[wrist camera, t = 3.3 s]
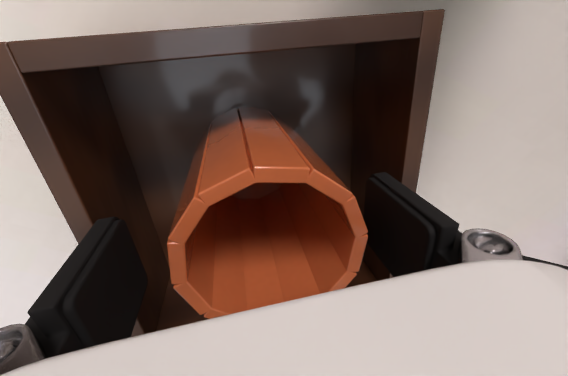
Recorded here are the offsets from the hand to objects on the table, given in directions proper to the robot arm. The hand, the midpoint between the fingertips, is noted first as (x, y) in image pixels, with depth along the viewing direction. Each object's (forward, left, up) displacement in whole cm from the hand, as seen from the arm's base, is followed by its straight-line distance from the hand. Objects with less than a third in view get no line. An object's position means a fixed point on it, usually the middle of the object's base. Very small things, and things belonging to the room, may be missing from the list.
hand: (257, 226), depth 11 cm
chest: (0, +1, -9) cm, 9 cm away
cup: (0, 0, -8) cm, 8 cm away
